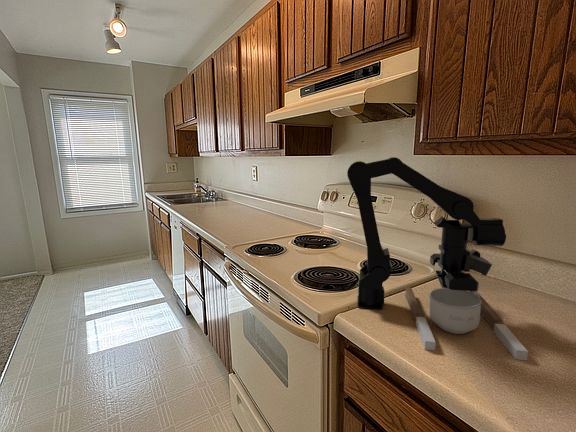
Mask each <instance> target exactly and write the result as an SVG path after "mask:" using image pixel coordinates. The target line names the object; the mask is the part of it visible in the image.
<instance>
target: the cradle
mask: <svg viewBox="0 0 576 432" xmlns="http://www.w3.org/2000/svg"><path fill="white" fill-rule="evenodd" d="M479 295H480V299H481V301H482V303H481V310H480V314H482V316H483V317H484V318H485V320H486V321H487V322H488V323H489V324H490V326H491V327H492V329H494V325H495V324H503V319H502V318H501V316H500V315H498V313H497V312H496V310H495V309H494V308H493V307H492V306H491V305H490V303H488V302H487V300H485V298H484V297H483V296H482V295H481V294H480V293H479ZM404 296H405V298H406V301H407V303H408V307H409V309H410V312H411V315H412V317H413V320H414V322H415V323H416V317H423V312H422V310H421V308H420V305H419V303H418V301H417V298H416V296H415V292H414V291H413V288H412V287H408V286H407V287H405V295H404Z"/></svg>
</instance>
